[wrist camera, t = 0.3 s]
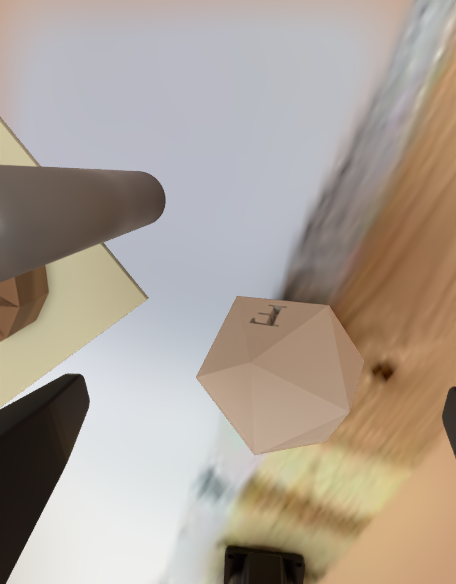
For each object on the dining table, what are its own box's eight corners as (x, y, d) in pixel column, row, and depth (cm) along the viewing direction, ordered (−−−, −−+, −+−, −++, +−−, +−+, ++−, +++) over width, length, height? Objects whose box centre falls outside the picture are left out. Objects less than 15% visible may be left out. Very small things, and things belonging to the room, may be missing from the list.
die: (373, 318, 23) (358, 276, 15) (357, 457, 22) (331, 497, 13) (257, 305, 27) (192, 265, 19) (236, 424, 25) (155, 438, 17)
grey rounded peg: (166, 226, 22) (40, 285, 10) (116, 224, 23) (-66, 280, 10) (164, 171, 21) (22, 163, 9) (112, 171, 22) (-94, 162, 9)
